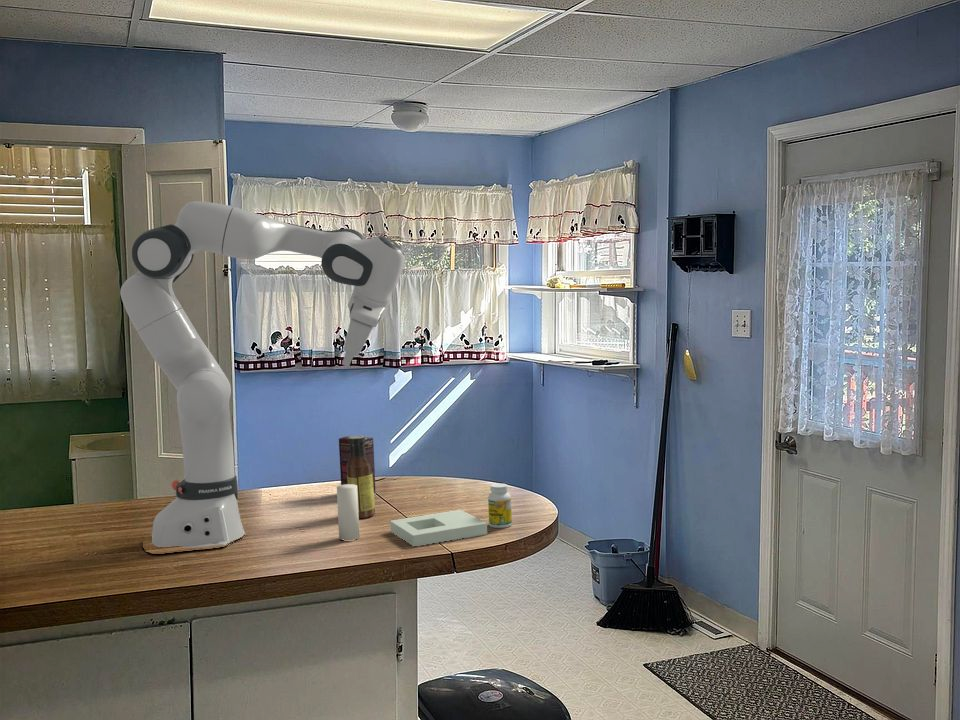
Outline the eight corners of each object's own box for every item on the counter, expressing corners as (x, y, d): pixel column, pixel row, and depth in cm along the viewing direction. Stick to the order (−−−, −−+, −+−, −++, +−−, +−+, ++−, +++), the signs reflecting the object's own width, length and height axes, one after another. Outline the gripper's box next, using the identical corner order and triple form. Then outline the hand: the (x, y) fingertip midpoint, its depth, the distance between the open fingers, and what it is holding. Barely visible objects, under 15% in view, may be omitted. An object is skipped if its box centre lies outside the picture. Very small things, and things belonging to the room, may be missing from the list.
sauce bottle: (377, 512, 231) (374, 434, 229) (372, 519, 225) (369, 438, 223) (352, 512, 232) (348, 434, 230) (346, 519, 225) (342, 439, 223)
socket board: (413, 547, 201) (413, 535, 201) (390, 531, 213) (390, 520, 213) (487, 534, 209) (486, 523, 209) (460, 520, 221) (460, 509, 221)
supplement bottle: (515, 523, 217) (514, 483, 216) (505, 529, 212) (504, 488, 211) (495, 521, 220) (494, 481, 219) (484, 527, 215) (483, 486, 214)
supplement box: (376, 495, 248) (374, 437, 247) (365, 499, 244) (362, 440, 243) (351, 492, 253) (349, 435, 251) (340, 496, 249) (337, 438, 247)
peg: (342, 542, 206) (340, 490, 205) (336, 537, 210) (334, 485, 209) (362, 539, 208) (360, 487, 207) (355, 534, 212) (353, 483, 211)
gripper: (359, 289, 222) (340, 339, 226) (350, 313, 203) (329, 367, 207) (384, 298, 223) (364, 348, 227) (377, 323, 204) (356, 377, 208)
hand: (347, 358), depth 217 cm, fingers open, 8 cm apart
